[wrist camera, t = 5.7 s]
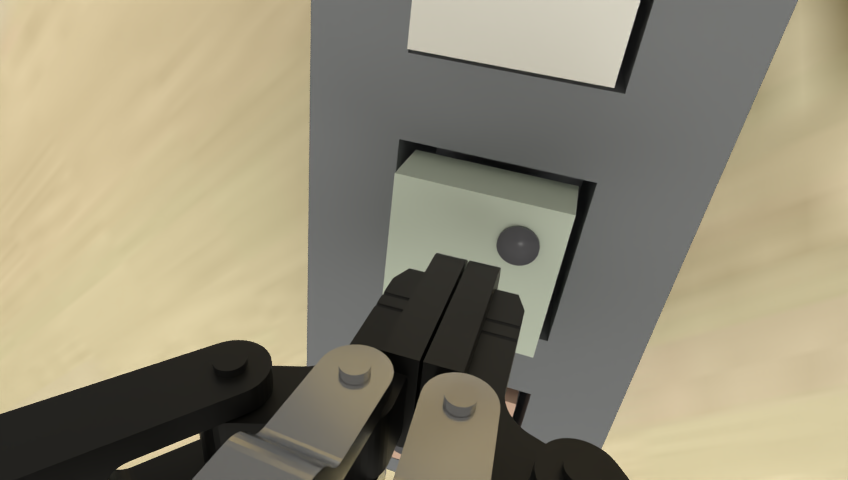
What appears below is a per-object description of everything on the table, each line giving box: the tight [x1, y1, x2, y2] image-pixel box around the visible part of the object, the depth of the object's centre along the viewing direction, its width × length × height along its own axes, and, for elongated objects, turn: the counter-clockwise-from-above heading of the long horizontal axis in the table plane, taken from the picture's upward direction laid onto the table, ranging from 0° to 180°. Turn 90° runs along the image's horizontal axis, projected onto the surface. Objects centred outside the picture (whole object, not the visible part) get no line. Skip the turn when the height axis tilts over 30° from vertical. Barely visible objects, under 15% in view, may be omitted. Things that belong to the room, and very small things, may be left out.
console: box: [307, 0, 798, 472], centre depth 23 cm, size 14×29×7 cm, turn 173°
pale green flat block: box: [383, 150, 579, 358], centre depth 20 cm, size 6×6×4 cm
